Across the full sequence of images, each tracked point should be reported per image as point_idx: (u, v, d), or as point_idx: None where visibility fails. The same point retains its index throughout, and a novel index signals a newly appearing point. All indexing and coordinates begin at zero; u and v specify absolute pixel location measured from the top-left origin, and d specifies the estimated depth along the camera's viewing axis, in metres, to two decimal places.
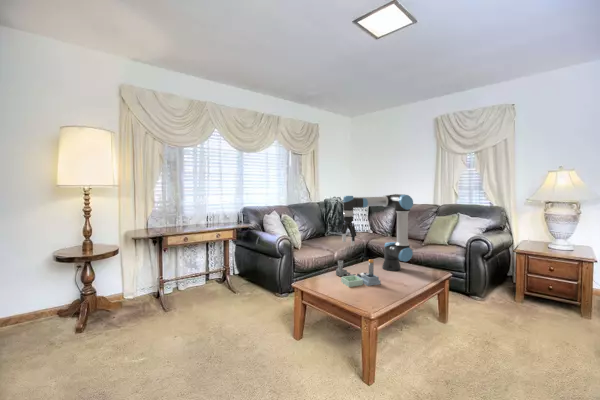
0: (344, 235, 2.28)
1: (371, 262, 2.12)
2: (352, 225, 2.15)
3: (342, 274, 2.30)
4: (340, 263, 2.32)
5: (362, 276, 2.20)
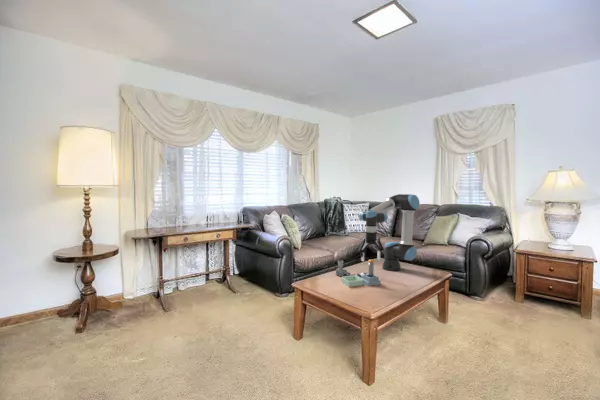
0: (378, 252, 2.16)
1: (371, 262, 2.12)
2: (362, 240, 2.11)
3: (342, 274, 2.30)
4: (340, 263, 2.32)
5: (362, 276, 2.20)
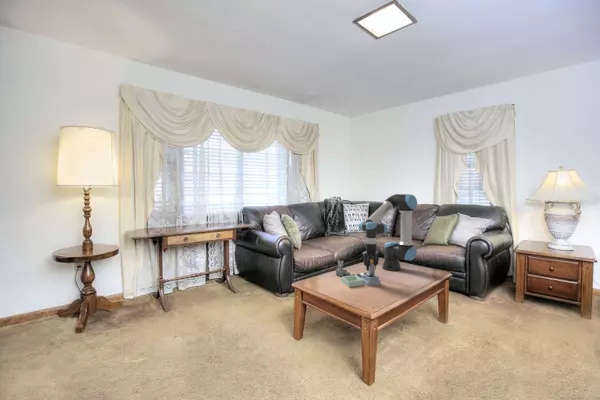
0: None
1: (371, 262, 2.12)
2: (363, 254, 2.12)
3: (342, 274, 2.30)
4: (340, 263, 2.32)
5: (362, 276, 2.20)
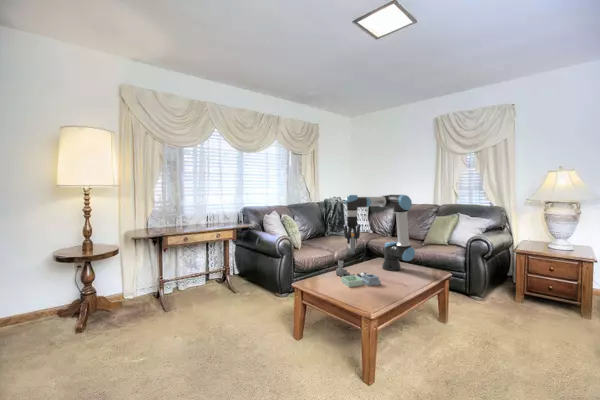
0: None
1: (352, 235, 2.11)
2: (344, 227, 2.11)
3: (342, 274, 2.31)
4: (340, 263, 2.33)
5: (362, 276, 2.20)
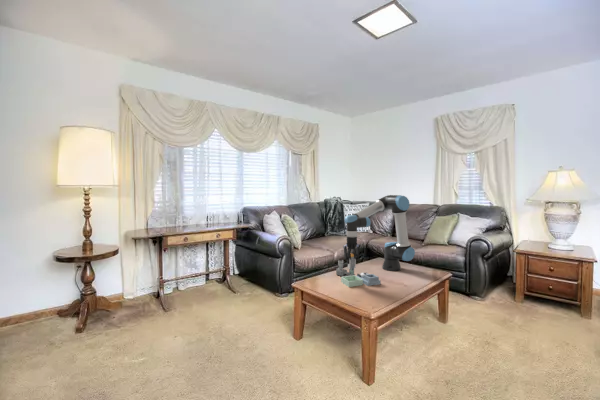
0: None
1: (352, 256, 2.12)
2: (344, 248, 2.12)
3: (342, 274, 2.31)
4: (340, 263, 2.33)
5: (362, 276, 2.20)
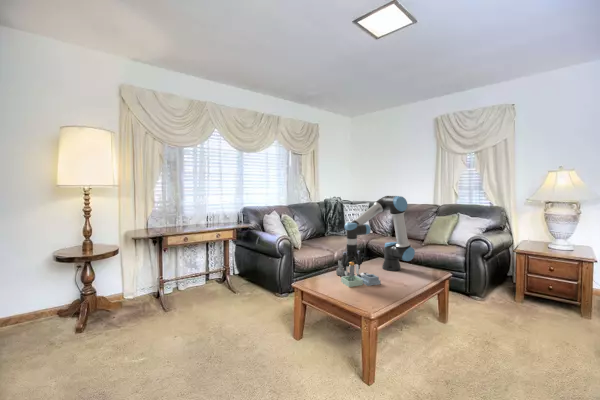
0: (357, 266, 2.15)
1: (352, 265, 2.12)
2: (343, 254, 2.12)
3: (342, 274, 2.31)
4: (340, 263, 2.33)
5: (362, 276, 2.20)
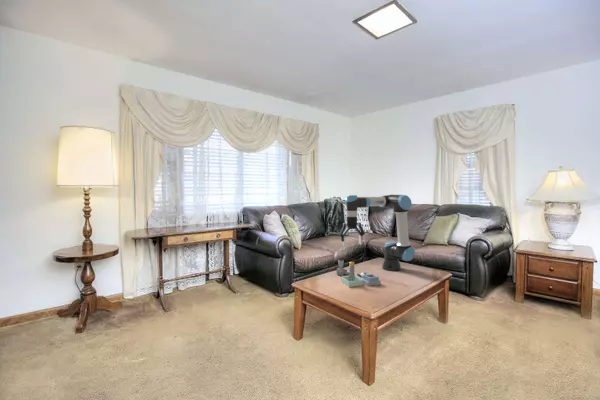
0: (359, 237, 2.15)
1: (352, 265, 2.12)
2: (343, 225, 2.11)
3: (341, 274, 2.31)
4: (340, 263, 2.33)
5: (362, 276, 2.20)
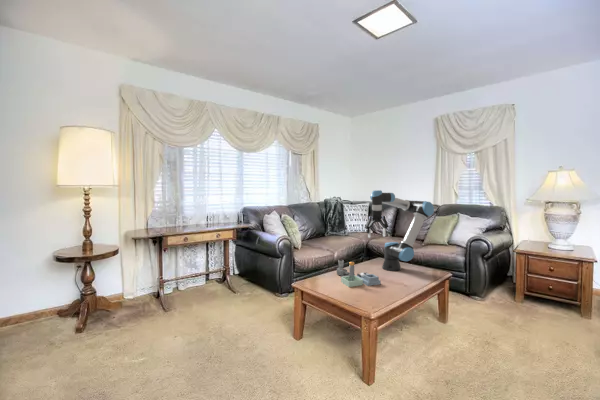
0: (383, 230, 2.30)
1: (352, 265, 2.12)
2: (368, 218, 2.25)
3: (341, 273, 2.31)
4: (340, 262, 2.34)
5: (362, 276, 2.20)
